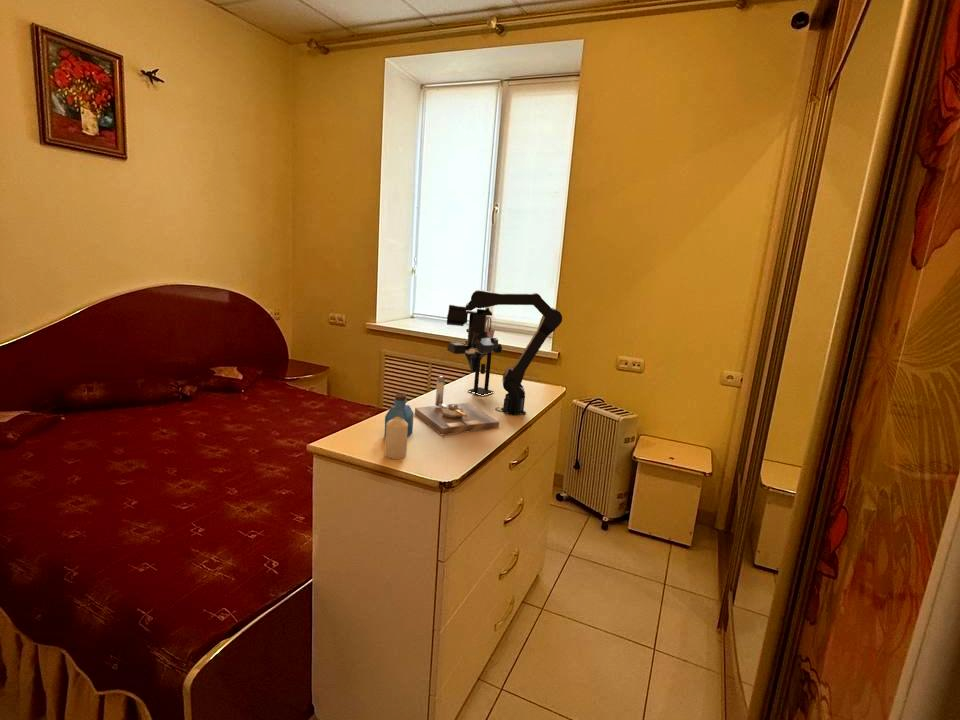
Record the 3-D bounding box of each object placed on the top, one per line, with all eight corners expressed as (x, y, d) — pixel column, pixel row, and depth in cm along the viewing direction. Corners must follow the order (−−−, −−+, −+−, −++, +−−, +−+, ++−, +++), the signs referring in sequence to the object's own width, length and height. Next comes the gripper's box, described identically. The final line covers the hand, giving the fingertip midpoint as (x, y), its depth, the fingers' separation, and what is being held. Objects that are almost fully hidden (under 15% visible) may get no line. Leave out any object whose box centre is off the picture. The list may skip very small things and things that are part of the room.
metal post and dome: (445, 404, 167) (447, 374, 164) (474, 422, 152) (477, 389, 150) (428, 406, 163) (430, 375, 161) (456, 424, 148) (459, 391, 146)
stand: (467, 408, 172) (468, 401, 172) (498, 427, 156) (499, 420, 155) (414, 413, 162) (415, 406, 162) (441, 434, 146) (442, 426, 145)
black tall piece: (479, 397, 187) (487, 318, 181) (465, 392, 192) (471, 315, 185) (496, 392, 195) (503, 317, 189) (481, 388, 200) (488, 314, 193)
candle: (385, 450, 131) (387, 414, 129) (406, 451, 132) (408, 415, 130) (383, 458, 126) (385, 421, 124) (405, 459, 126) (407, 422, 124)
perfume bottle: (405, 440, 139) (407, 399, 137) (384, 437, 140) (386, 396, 138) (412, 433, 145) (414, 393, 143) (392, 429, 146) (394, 390, 144)
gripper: (464, 331, 155) (460, 379, 159) (513, 331, 165) (508, 376, 168) (448, 325, 165) (445, 371, 168) (495, 325, 174) (491, 368, 178)
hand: (473, 372), depth 170 cm, fingers closed
